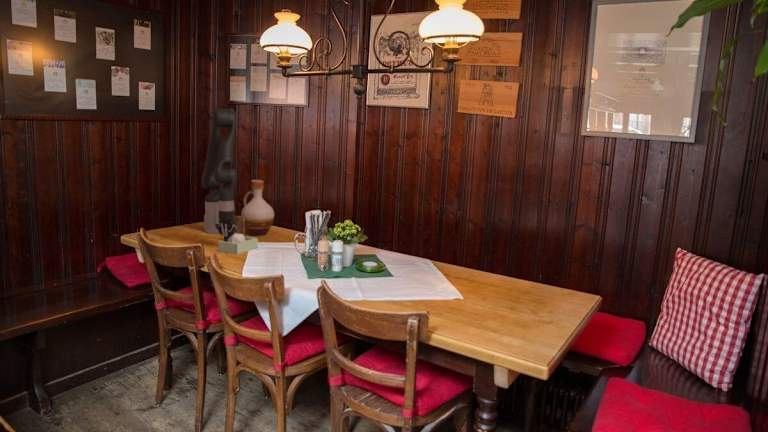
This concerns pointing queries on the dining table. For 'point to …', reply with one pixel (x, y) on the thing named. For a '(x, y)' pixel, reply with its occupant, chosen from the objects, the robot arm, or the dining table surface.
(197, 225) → the dining table surface
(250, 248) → the tray
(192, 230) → the dining table surface
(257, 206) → the jug
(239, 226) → the menu board
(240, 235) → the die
